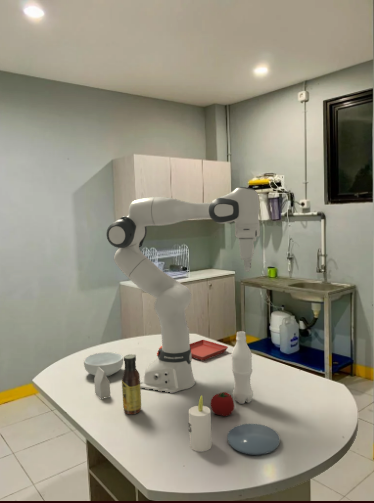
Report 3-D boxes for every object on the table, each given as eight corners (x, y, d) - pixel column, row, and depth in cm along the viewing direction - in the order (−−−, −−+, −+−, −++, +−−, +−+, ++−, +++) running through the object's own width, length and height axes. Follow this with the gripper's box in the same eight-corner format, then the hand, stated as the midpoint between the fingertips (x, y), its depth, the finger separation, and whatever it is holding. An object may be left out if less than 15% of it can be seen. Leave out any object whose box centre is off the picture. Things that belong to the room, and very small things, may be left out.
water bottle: (254, 397, 147) (252, 330, 145) (251, 406, 140) (249, 336, 138) (235, 395, 149) (233, 329, 147) (230, 404, 142) (228, 334, 140)
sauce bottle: (124, 407, 143) (121, 353, 141) (141, 406, 143) (139, 351, 142) (122, 416, 136) (119, 359, 135) (141, 415, 137) (138, 358, 135)
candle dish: (224, 454, 113) (224, 449, 112) (230, 426, 127) (230, 422, 127) (279, 459, 109) (279, 453, 109) (279, 430, 124) (279, 425, 124)
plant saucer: (202, 363, 184) (202, 356, 183) (176, 354, 197) (176, 348, 197) (229, 353, 196) (229, 346, 195) (202, 345, 209) (202, 339, 209)
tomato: (233, 419, 132) (233, 398, 131) (209, 418, 133) (208, 397, 132) (235, 408, 139) (234, 388, 139) (212, 407, 141) (211, 387, 140)
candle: (186, 442, 119) (184, 393, 118) (206, 437, 122) (204, 389, 120) (194, 454, 113) (192, 402, 112) (215, 448, 116) (213, 397, 115)
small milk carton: (101, 399, 150) (99, 373, 149) (95, 393, 156) (93, 368, 155) (110, 396, 152) (109, 371, 151) (104, 390, 158) (102, 365, 157)
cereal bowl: (111, 383, 164) (110, 366, 164) (76, 379, 170) (75, 363, 169) (130, 368, 180) (129, 352, 180) (98, 365, 186) (97, 350, 185)
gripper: (240, 230, 158) (241, 266, 159) (236, 233, 138) (237, 273, 139) (257, 230, 156) (257, 265, 158) (255, 233, 136) (255, 273, 138)
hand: (248, 269), depth 148 cm, fingers open, 8 cm apart
